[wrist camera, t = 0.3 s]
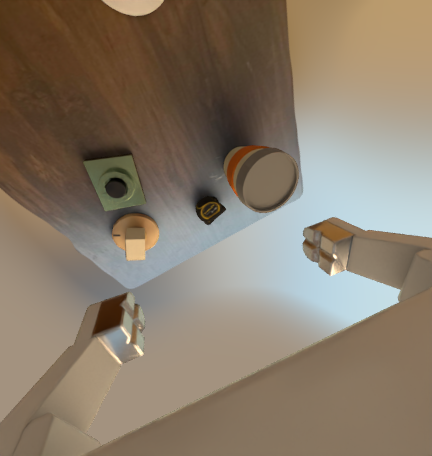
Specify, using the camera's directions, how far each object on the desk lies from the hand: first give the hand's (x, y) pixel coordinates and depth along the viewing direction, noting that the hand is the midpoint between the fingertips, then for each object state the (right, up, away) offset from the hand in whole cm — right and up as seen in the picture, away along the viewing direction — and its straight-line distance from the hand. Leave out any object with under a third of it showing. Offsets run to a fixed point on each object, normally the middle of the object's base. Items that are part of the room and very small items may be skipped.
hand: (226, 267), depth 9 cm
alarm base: (-22, +12, +33) cm, 42 cm away
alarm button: (-21, +10, +31) cm, 39 cm away
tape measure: (-2, +8, +44) cm, 44 cm away
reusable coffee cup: (+6, +18, +40) cm, 44 cm away
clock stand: (-21, +1, +41) cm, 46 cm away
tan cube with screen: (-21, 0, +40) cm, 45 cm away
